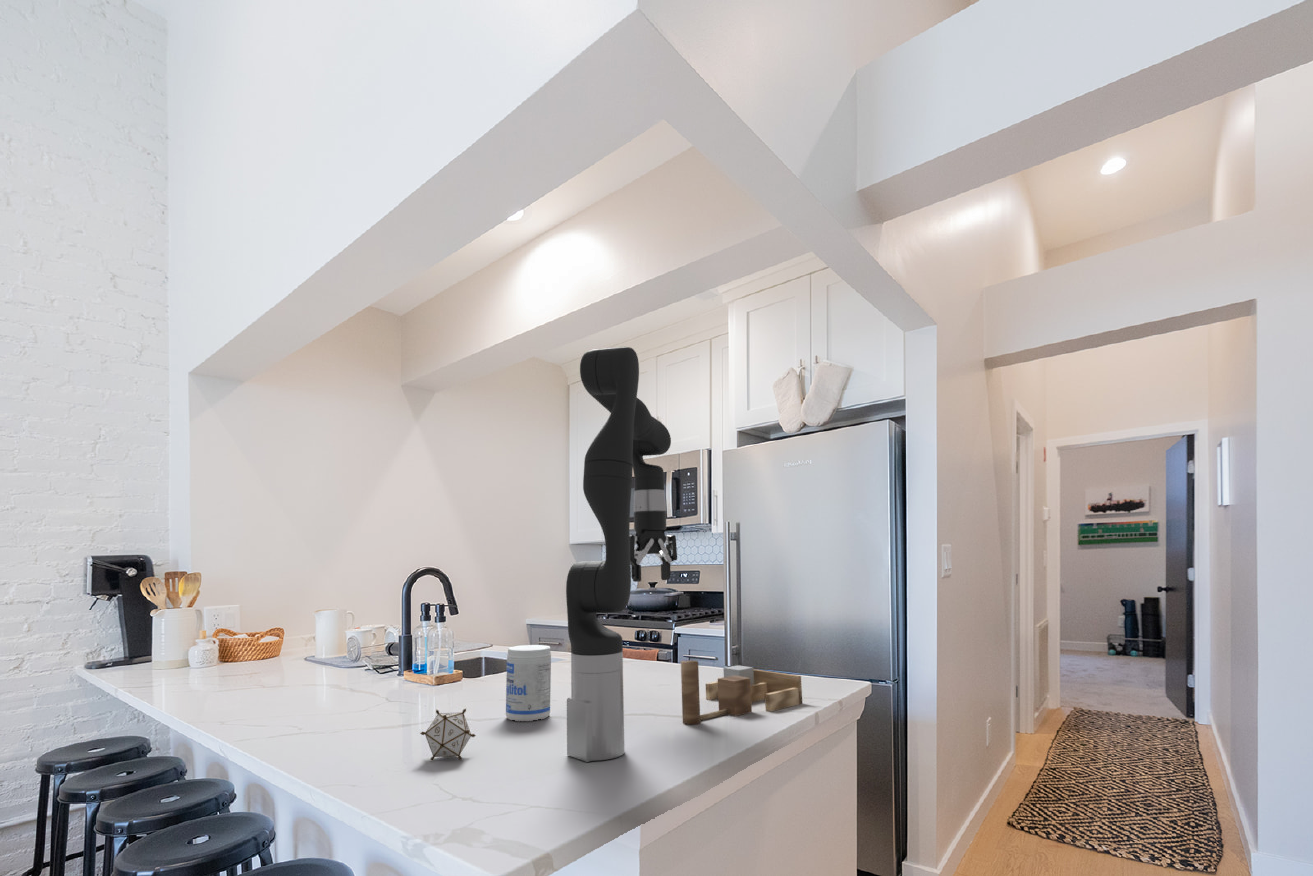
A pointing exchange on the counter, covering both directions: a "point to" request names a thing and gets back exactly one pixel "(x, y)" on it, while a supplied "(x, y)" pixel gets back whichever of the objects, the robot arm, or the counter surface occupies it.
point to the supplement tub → (528, 682)
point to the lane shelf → (769, 689)
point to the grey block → (740, 672)
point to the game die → (448, 734)
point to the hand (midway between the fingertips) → (651, 580)
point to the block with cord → (730, 695)
